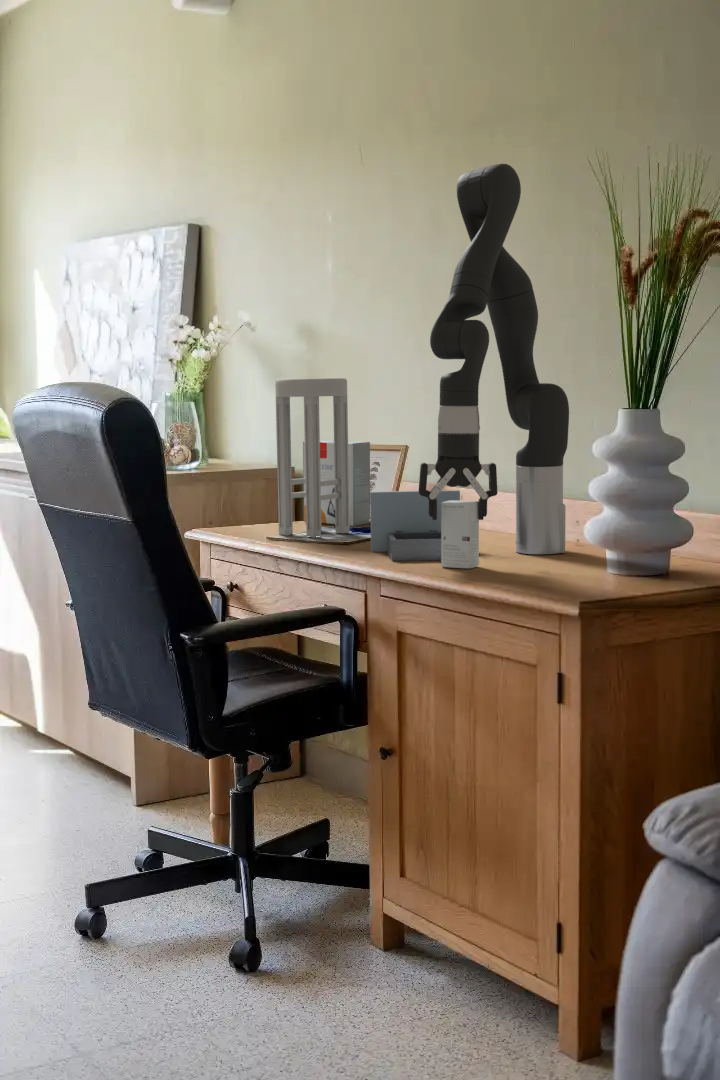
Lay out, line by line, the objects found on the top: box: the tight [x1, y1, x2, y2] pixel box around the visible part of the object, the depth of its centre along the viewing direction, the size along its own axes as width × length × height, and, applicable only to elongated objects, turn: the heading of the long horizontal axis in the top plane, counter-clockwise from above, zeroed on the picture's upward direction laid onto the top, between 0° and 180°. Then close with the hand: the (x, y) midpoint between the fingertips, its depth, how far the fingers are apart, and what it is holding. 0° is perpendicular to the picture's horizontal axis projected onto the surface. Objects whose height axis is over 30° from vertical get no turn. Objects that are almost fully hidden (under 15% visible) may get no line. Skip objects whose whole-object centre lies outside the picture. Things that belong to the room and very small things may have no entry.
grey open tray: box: [386, 530, 441, 562], centre depth 256 cm, size 12×14×4 cm
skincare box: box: [440, 500, 480, 569], centre depth 239 cm, size 6×4×12 cm
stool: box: [274, 377, 351, 537], centre depth 293 cm, size 16×16×35 cm
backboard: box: [370, 489, 461, 553], centre depth 263 cm, size 18×2×12 cm, turn 93°
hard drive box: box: [302, 439, 371, 527], centre depth 316 cm, size 16×8×20 cm, turn 53°
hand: (457, 519), depth 239 cm, fingers open, 8 cm apart
